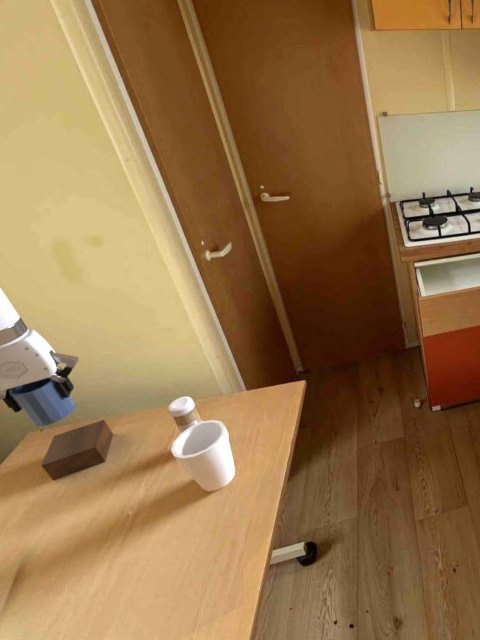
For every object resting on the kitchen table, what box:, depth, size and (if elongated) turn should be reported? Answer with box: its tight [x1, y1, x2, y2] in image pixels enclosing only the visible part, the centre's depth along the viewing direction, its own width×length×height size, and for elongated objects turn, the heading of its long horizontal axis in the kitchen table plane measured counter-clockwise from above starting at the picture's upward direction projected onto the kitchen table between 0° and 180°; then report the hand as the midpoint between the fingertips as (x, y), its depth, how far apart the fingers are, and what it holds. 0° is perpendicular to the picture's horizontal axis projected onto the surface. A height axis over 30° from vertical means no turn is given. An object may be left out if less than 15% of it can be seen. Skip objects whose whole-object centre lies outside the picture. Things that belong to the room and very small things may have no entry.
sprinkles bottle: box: [167, 396, 204, 434], centre depth 99 cm, size 5×5×14 cm
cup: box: [9, 378, 77, 427], centre depth 89 cm, size 7×7×9 cm
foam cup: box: [170, 419, 236, 493], centre depth 91 cm, size 10×9×13 cm
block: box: [40, 419, 114, 481], centre depth 97 cm, size 9×9×5 cm
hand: (44, 399), depth 89 cm, fingers closed on cup, 6 cm apart
